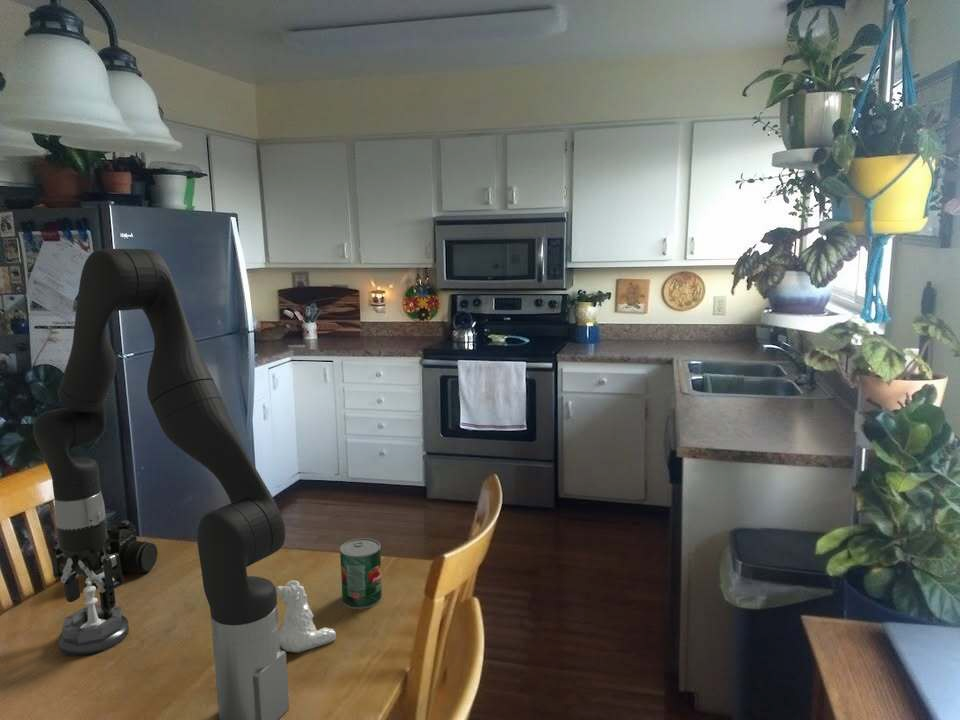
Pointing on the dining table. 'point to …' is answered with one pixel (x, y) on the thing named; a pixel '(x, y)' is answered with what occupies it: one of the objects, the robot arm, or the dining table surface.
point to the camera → (129, 549)
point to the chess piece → (91, 606)
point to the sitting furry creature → (300, 621)
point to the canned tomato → (361, 573)
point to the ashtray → (92, 632)
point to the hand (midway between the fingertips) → (91, 604)
